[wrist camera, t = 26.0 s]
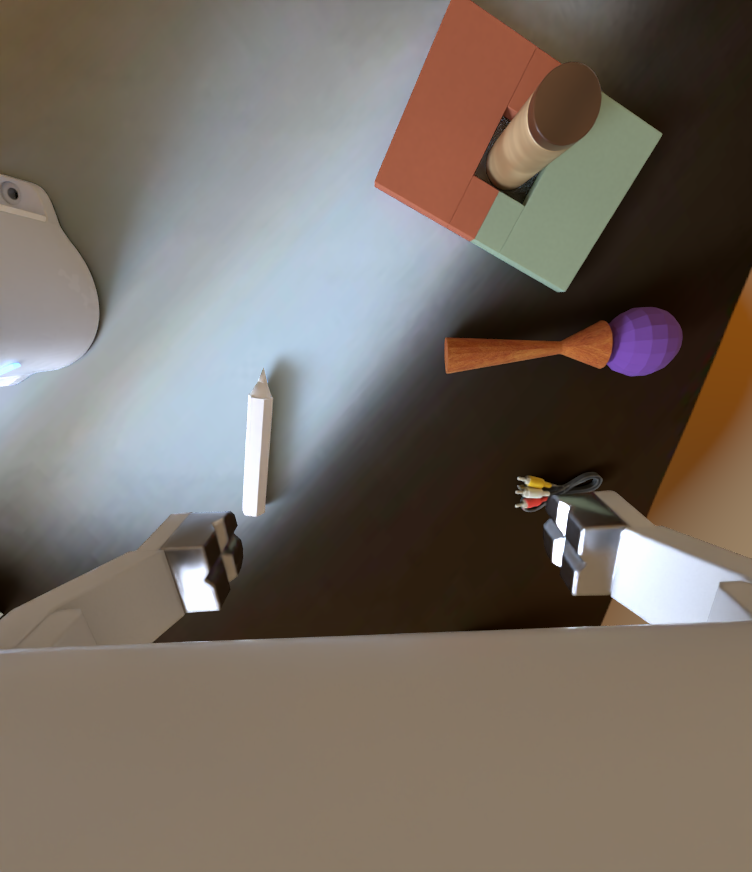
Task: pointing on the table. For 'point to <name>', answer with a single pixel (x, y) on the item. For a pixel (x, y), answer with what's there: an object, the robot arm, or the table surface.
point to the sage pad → (570, 199)
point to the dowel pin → (545, 125)
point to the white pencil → (257, 448)
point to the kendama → (583, 345)
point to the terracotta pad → (460, 116)
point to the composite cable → (551, 489)
